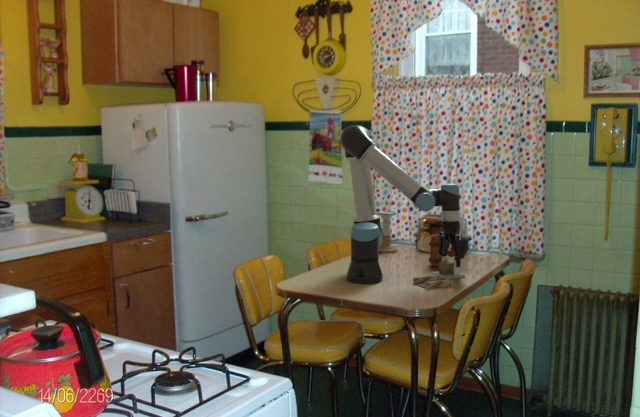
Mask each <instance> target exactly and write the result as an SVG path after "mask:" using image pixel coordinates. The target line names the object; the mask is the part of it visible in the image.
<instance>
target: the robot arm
mask: <svg viewBox="0 0 640 417" xmlns="http://www.w3.org/2000/svg"><path fill="white" fill-rule="evenodd" d="M339 137H340V138H339V142H340V145H341V147H342V148H343V149H344V155H345V159H346V161H348V162H349V167H350V168H349V170H350V174H351V175H350V176H351V182H352V183H351V184H352V190H353V191H352V192H353V200H354V208H355V217H354V219H353V225H352V226H351V229H350V262H349V266H348V269H347V272H346V281H348V282H350V283H355V284H356V283H357V284H375V283H376V284H377V283H380V282H382V281H383V277H384V275H383V272H382V269H381V266H380V263H379V258H380V256H379V253H380V252H379V245H381V242H382V239H383V230H382V224H381V223H382V222H381V216H380V215H377V214H376V212H377V211H376V203H375V197H374V188H373V180H372V179H373V177H372V171H371V169H372V170H374V171H375V172H376V173H377V174H378V175H379V176H381V177H382V178H383V179H384V180H386V181H387V182H388V183H389V184H391V185H392V186H393V187H394V188H395V189H396V190H398V191H399V192H400V193H401V194H403V195H404V196H405V197H406V198H407V199H408V200H409V201H411V202H412V204H413V206H414V207H415V208H417V209H419V210H420V211H421V212H429V211H431V210H432V209H433V208H434V207H441V220H442V221H441V229H442V230H443V231H440V232H439V234H438V235H439V236H440V239H439V250H438V254H440V255H441V256H442V261H449V256H448V254H447V252H448V250H450V249H449V248H450V245H451V246H452V248H453V252H454V256H453V257H454V258H453V260H454V275H460V273H461V266H462V264H461V260H462V259H464V258H465V253H464V251H465V250H464V243H463V240H464V239H463V237H464V235H462V234H459V232H458V231H459V230H460V226H461V225H460V224H461V223H460V200H461V199H460V185H458V184H457V183H442V184H441V187H440V188H425V187H424V186H422V184H420V183H419V182H418V181H417V180H415V179H414V178H413V177H412V176H411V175H410V174H408V173H407V172H406V171H405V170H404V169H402V168H401V167H400V166H399V165H397V163H396V162H395V161H393V160H392V159H390V157H388V156H387V155H386V154H385V153H384V152H382V151H381V150H380V149H379V148H377V147H376V143H375V142H374V140H373V139H372V138H373V137H372V134H371V132H370V131H369V130H368V128H367V127H365V126H363V125H360V124H357V125H356V124H355V125H348V126H347V127H345V128H344V129H343V130H342V132H341V134H340V136H339ZM455 241H456V242H455Z"/></svg>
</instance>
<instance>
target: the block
mask: <svg viewBox="0 0 640 417" xmlns="http://www.w3.org/2000/svg"><path fill="white" fill-rule="evenodd" d="M438 271H439V273H441V274H444V275H452V274H454V259H450V260H449V259H448V261H439V267H438Z"/></svg>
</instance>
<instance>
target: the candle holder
mask: <svg viewBox="0 0 640 417" xmlns="http://www.w3.org/2000/svg"><path fill="white" fill-rule="evenodd" d="M376 214H377V215H378V216H380V218H382V222H380V223H381V228H382V230H383V239H382V241H381V243H380V244H379V253H380V252H381V253H383V254H392V253H397V252H398V250H399V249H398V247H396V246H395V245H393V244H391V240H392V239H393V238H392V236H391V235H392V229H391V225H392V222H391V221H390V220H391V219H392V216H396V215H397V212H396V211H391V210H381V211H376Z"/></svg>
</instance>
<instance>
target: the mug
mask: <svg viewBox="0 0 640 417" xmlns="http://www.w3.org/2000/svg"><path fill="white" fill-rule="evenodd" d="M439 239H440V236H439V234H438V235H437V234H434V235H433V234H432V235H431V238H430V241H429V243H428V245H429V246H430V248H429V249H430V252H429V253H430V256H429V258H428V262H429V265H430V266H433V267H436V268H439V261H442V256H441V255H440V254H438V250H439ZM455 242H456V241H455ZM449 248H450V249H448V252H447V254H448V257H449V258H453V257H455V256H454V252H453V248H452V245H451V247H449Z"/></svg>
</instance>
